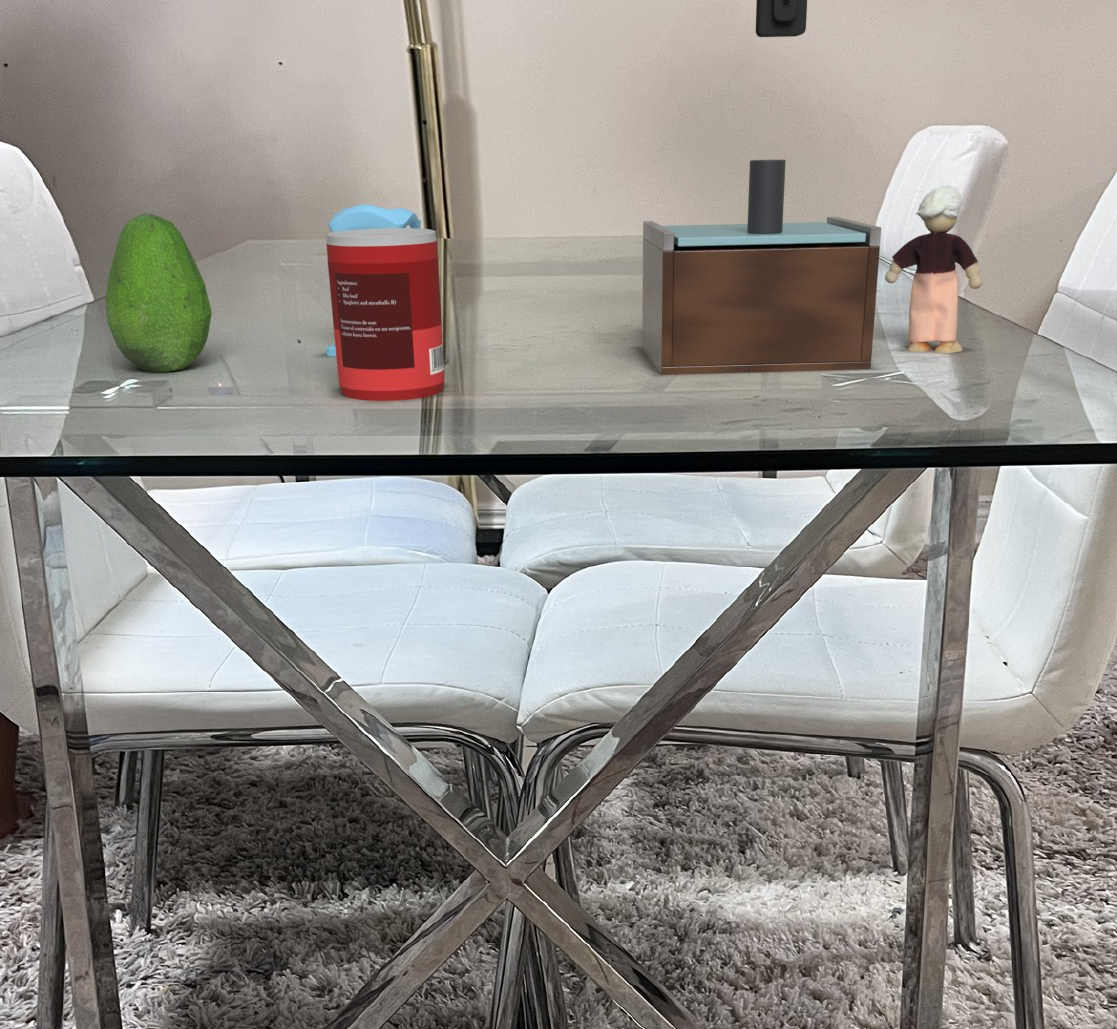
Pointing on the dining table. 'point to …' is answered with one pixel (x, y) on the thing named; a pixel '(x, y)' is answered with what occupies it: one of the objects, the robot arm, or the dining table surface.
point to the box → (759, 304)
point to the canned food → (386, 313)
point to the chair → (370, 225)
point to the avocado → (156, 297)
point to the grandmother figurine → (936, 272)
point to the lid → (764, 218)
